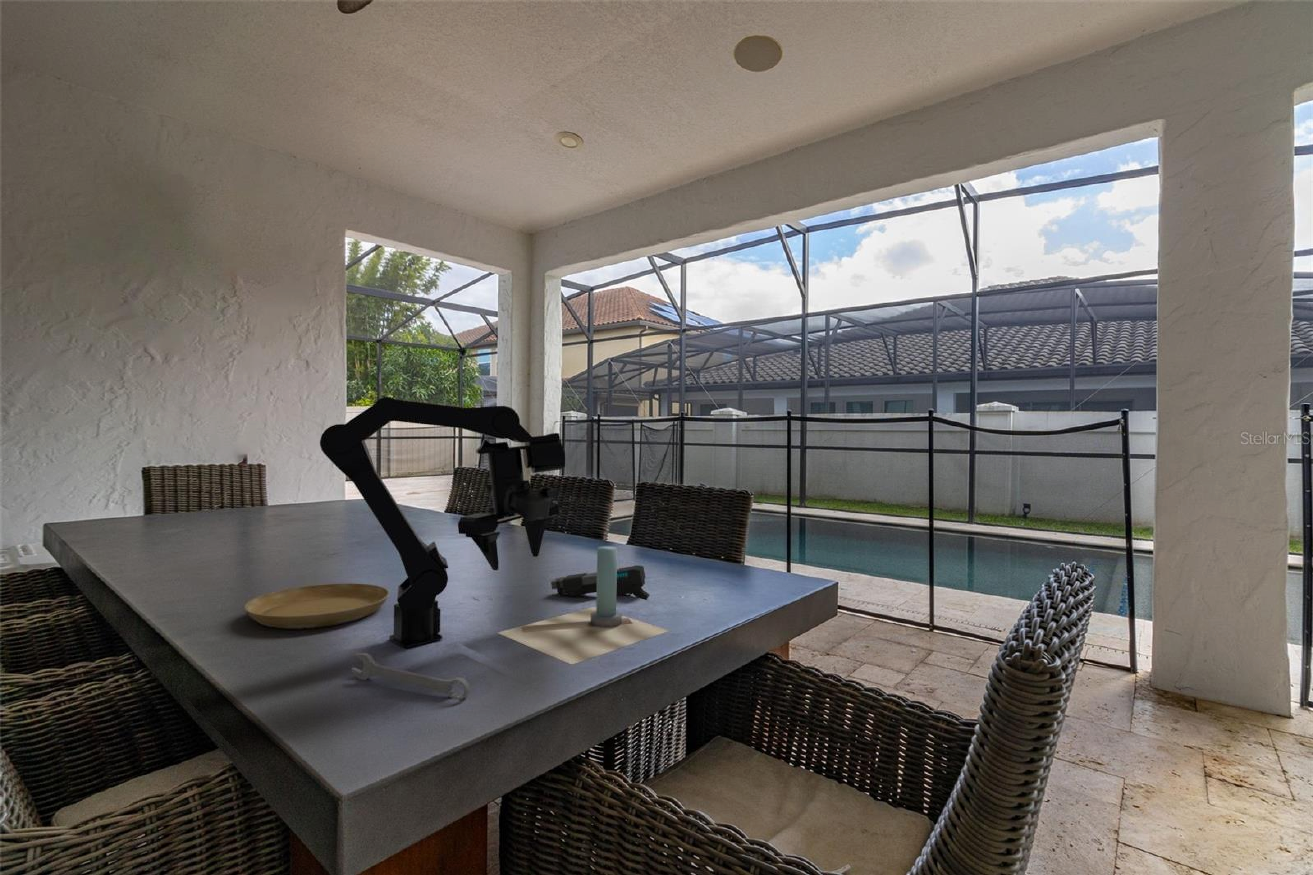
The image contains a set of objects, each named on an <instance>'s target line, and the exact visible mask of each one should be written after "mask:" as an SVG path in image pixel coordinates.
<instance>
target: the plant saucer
mask: <svg viewBox="0 0 1313 875" xmlns="http://www.w3.org/2000/svg"><path fill="white" fill-rule="evenodd" d="M389 596H390V590H388V589H387V588H385V587H383V586H380V585H377V584H376V585H375V584H369V583H352V582H351V583H349V582H347V583H345V582H342V583H324V584H322V583H321V584H314V585H311V584H310V585H305V586H298V587H297V586H296V587H293V588H286V589H280V590H277V591H273V592H269V593H265V594H262V595H260V596H257V597H255V598H253V599H250V600H249V601H248V602H246V604H245V605H244V610H245V612H246V614H247V615H248V616H249V617H250V618H251V619H252V620H253V621H255V622H257V623H259V624H261V625H263V626H265V627H266V626H267V627H268V628H273V627H275V628H276V629H281V628H282V629H284V630H301V629H302V630H303V628H306V629H316V628H315V627H318V628H325V626H326V627H330V626H337V625H342V623H343V624H346V623H350V622H353V621H357V620H360V619H363V618H365V617H368V616H370V615H372V614H373V613H374V612H377V610H378V609H381V607H382V606H383V605H384V604H385V603H386V601H387V600H388V597H389ZM275 628H274V629H275Z"/></svg>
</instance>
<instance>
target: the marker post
mask: <svg viewBox="0 0 1313 875" xmlns="http://www.w3.org/2000/svg"><path fill="white" fill-rule="evenodd" d="M596 552H597V553H596V572H597V592H596V602H595V603H596V604H595V605H596V606H595V607H596V611H594V612H592V613H591V624H592V625H593V626H596V627H605V628H606V627H615V626H618V625H620V624H621V623H622V616H623V615H622V612H620V611H618V610H617V595H616V593H617V569H618V547H615V546H612V545H611V546H610V545H609V546H598V547H597V548H596Z"/></svg>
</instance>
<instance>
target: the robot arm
mask: <svg viewBox="0 0 1313 875" xmlns="http://www.w3.org/2000/svg"><path fill="white" fill-rule="evenodd" d="M390 422H398V423H399V422H400V423H401V422H402V423H410V424H418V425H427V426H435V427H436V426H437V427H447V428H456V429H462V430H467V431H470V432H472V433H476V434H480V435H482V436H487V437H491V438H494V439H500V440H507V439H508V440H510V441H512V442H513V443H515V442H516V443H521V444H522V443H524V445H518V446H517V445H516V446H509V444H508V442H507V441H501V442H492V443H490V442H489V441H488V440H487V439H483V440H482V442H481V444H480V446H479V447H478V448H477V449H476V450H475V453H476V454H478V455H486V454H487V458H488V469H489V476H490V483H487V484H486V490H487V491H491V497H492V504H493V505H492V506H489V507H488V511H489V512H488V513H486V512H485V513H482V512H477V513H473V514H468V515H464V516H460V519H459V521H458V523H457V528H458V534H459V535H465V537H466V538H471V540H472V541H473V542H474V544H475V545H476V546H477V547H478V548H479V550H480V551H481V553H482V554H483V557H484V558H485V559H486V561H487V562H488V564H489V566H490V568H491V569H492V570H493V571H499V553H498V545H497V544H498V543H497V541H498V539H499V536H500V534H501V532H500V531H496V530H497V528H498V527H499V525H501V524H504V523H508V522H511V521H514V520H519V519H523V523H524V528H525V532H526V536H527V540H528V544H529V547H530V548H529V549H530V553H531V554H532V557H534V558H537V557H538V556H539V555H540V550H541V546H542V541H543V539H544V538H543V537H544V534H545V530H546V527H547V526H548V525H549V523H550V522H551V521H552V520H554V519H555V518H556V516H555V515H557V514H560V506H559V505H560V504H559V503H558V501H557V497H556V491H555V488H553V487H550V486H547V487H543V488H541V489H540V490H533V489H532V487H531V482H530V481H529V479H525V478H524V468H523V464H524V467H525V468H526V469H529V468H530V470H531V472H532V474H536V473H545V472H551V471H552V472H553V471H554V472H555V471H560V470H565V467H566V453H565V452H566V451H565V450H564V446H563V443H562V441H561V438H560V433H559V432H555V433H554V432H553V433H552V432H551V433H548V434H545V435H544V434H542V435H536V436H532V435H531V434H530V432H528V431H527V430H526V429H525V428H524V427H523V425H522V424H520V423H521V422H520V417H519V414H518V413H517V412H516V410H515V409H514V408H512V407H511V406H510V407H509V406H507V405H492V406H474V407H461V406H454V405H453V406H451V405H444V404H437V403H428V402H419V401H411V400H403V399H396V398H392V397H389V396H383V397H381V398H378V400H377V401H375V403H374V404H373V405H371V406H370V407H368V408H367V409H365V410H364V411H362V412H360V413H359V414H357V415H356V416H355V417H353V418H352V419H350V420H349V421H348V422H346V423H341V424H339V423H337V424H334V425H330V426H329V427H328V428H326V429H325V430H324V431H323V433H322V434H321V435H320V439H319V446H320V449H321V451H322V452H323V454H324V455H325V456H326V457H327V458H328V459H329V460H330V461H331V463H332V464H334V465H335V467H336V468H337V469H338V470H340V472H342V473H343V474H344V475H345V476H346V477H347V478H348V479H349V480H350V481H351V482H352V483H353V484H354V486H355V487H356V489H357V490H358V492H359V493H360V495H361V497H362V499H363V500H364V501H365V502H366V505H367V506H368V507H369V509H370V510H371V511H372V513H373V515H374V516H375V518H376V520H377V521H378V523H379V524H380V525H381V528H382V529H383V530H384V532H385V534H386V535H387V536H388V538H389V540H390V541H391V543H392V544H393V545H394V547H395V549H396V551H397V553H398V554H399V556H400V559H401V560H400V561H402V565H403V568H404V571H405V573H406V575H407V577H406V579H404V581H402V582H401V583H400V584H399V585H398V587H397V599H396V600H397V603H395V604H393V634H392V635H389V636H388V637H389V638H388V639H389V640H390V641H392V642H393V643H396V644H398V645H399V646H401V647H403V648H404V649H407V648H412V647H415V646H420V645H424V644H428V643H432V642H436V641H440V640H443V635H441V634H439V633H440V632H441V608H440V607H439V600H436V597H437V596H438V595H440V594H441V593H443V592H444V590H445V589H446V588H447V585H448V582H449V576H448V572H447V569H449V564H448V562H447V558H446V557H444V556H443V555H442V554H441V553H440V551H439V548H438V547H437V544H436V542H435V541H432V542H431V543H430V544H429V545H427V544H426V543H425V542H424V541H423V540H421V538H420V536H418V534H417V533H416V531H415V529H414V528H413V526H412V525H411V523H410V522H409V520H408V519H407V517H406V516H405V514H404V513H403V510H402V509H401V508H400V506H399V505H398V503H397V501H396V500H395V498H394V497H393V495H392V493H391V492H390V490H389V489H388V488H387V486H386V484H385V482H384V481H383V479H382V478H381V476H380V475H379V473H378V471H377V470H376V468H375V465H374V462H373V460H372V457H371V454H370V451H369V449H368V446H367V443H366V440H367V439H369V438H370V437H371V436H373V435H374V434H375V433H377V432H378V431H380V430H381V429H382V428H383V427H385V426H387V425H388V424H389V423H390ZM522 456H523V459H522Z"/></svg>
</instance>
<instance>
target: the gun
mask: <svg viewBox="0 0 1313 875" xmlns="http://www.w3.org/2000/svg"><path fill="white" fill-rule="evenodd" d="M645 580H646V573H645V567H644V566H643V565H638V564H637V565H632V566H628V567H627V566H626V567H620V568H617V593H616V596H621V595H622V596H623V595H628V596H631V595H632V596H635V598H637V599H641V600H645V601H646V600H648V598H649V597H650V593H648V592H647V591H646V590H644V589H643V588H642V587H644V585H645V584H646V582H645ZM550 585H551V590H556V591H557V593H556V596H558V597H561V596H563V595H569V596H571V597H576V596H577V597H579V596H584V595H587V594H593V593H597V571H596V572H589V573H587V572H583V573H577V574H570V575H566V576H561V577H556V578H555V579H553V580H551V582H550Z"/></svg>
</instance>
